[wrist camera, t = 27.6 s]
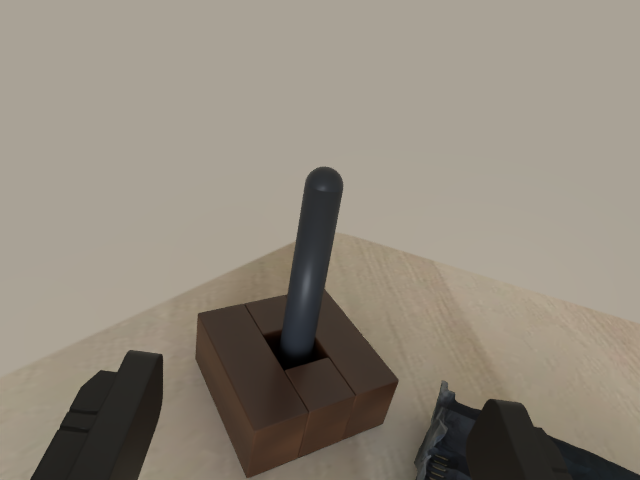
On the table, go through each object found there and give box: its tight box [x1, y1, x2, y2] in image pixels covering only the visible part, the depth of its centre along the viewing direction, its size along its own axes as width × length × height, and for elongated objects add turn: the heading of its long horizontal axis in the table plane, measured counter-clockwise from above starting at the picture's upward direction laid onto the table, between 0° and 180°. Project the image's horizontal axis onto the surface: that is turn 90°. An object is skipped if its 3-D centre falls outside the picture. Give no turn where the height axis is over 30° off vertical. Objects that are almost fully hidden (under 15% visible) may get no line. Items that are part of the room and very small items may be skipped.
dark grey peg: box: [277, 167, 343, 371], centre depth 24 cm, size 2×2×13 cm
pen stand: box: [196, 289, 399, 478], centre depth 26 cm, size 8×8×4 cm
